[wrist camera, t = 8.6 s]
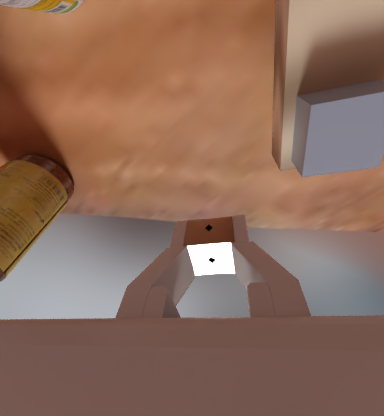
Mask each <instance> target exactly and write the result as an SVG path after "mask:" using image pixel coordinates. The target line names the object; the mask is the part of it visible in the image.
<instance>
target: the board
mask: <svg viewBox="0 0 384 416" xmlns="http://www.w3.org/2000/svg"><path fill="white" fill-rule="evenodd" d="M374 80H381V81H384V0H276V18H275V56H274V94H273V132H272V156H273V158H274V160H275V162H276V163H277V165H278V167H279V169H280V171H282V170H289V169H296V167H295V166H294V164H293V163H292V161H291V157H292V145H293V134H294V122H295V111H296V99H297V96H298V95H303V94H308V93H313V92H319V91H324V90H329V89H334V88H339V87H344V86H349V85H354V84H359V83H364V82H369V81H374ZM383 157H384V155H383Z"/></svg>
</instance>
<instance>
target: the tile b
mask: <svg viewBox="0 0 384 416" xmlns="http://www.w3.org/2000/svg"><path fill="white" fill-rule="evenodd" d="M383 155H384V81H381V80H374V81H369V82H364V83H359V84H354V85H349V86H344V87H339V88H334V89H329V90H324V91H319V92H313V93H308V94H303V95H298V96H297V99H296V111H295V122H294V134H293V145H292V157H291V161H292V163H293V164H294V166H295V167H296V169H297V170H298V172H299V173H300V175H301V176H302V177H308V176H316V175H324V174H331V173H339V172H347V171H354V170H362V169H370V168H378V167H379V166H380V163H381V161H382V158H383Z"/></svg>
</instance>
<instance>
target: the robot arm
mask: <svg viewBox="0 0 384 416" xmlns="http://www.w3.org/2000/svg"><path fill="white" fill-rule="evenodd" d="M226 273H235V275H236V276H237V278H238V279H239V280H240V282H241V283H242V284H243V286H244V287H245V288H246V289H247V291H248V303H249V315H250V317H209V318H208V317H203V318H202V317H201V318H181V317H180V315H179V313H178V311H177V308H176V305H177V304H178V302H179V301H180V299H181V298H182V296H183V295H184V293H185V292H186V290H187V289H188V287H189V286H190V284H191V283H192V281H193V280H194V278H195V277H196V276H195V275H206V274H226ZM0 416H384V315H383V316H311V314H310V311H309V309H308V306H307V303H306V300H305V297H304V295H303V292H302V289H301V286H300V283H299V281H298V279H297V278H295V277H294V276H293V275H292V274H291V273H289V272H288V271H287V270H286V269H285V268H284V267H282V266H281V265H280V264H279V263H278V262H276V261H275V260H274V259H273V258H272V257H271V256H269V255H268V254H267V253H266V252H265V251H264V250H262V249H261V248H260V247H259V246H258V245H257V244H255V243H254V242H253V241H252V242H249V238H248V232H247V226H246V221H245V216H244V215H236V216H230V217H220V218H211V219H197V220H188V221H187V220H186V221H177V222H176V224H175V229H174V233H173V238H172V242H171V246H170V248H166V249H165V250H164V252H162V253H161V254H160V255H159V256H158V257H157V258H156V259H155V260H154V261H153V262H152V263H151V264H150V265H149V266H148V267H147V268H146V269H145V270H144V271H143V272H142V273H141V274H140V275H139V276H138V277H137V278H136V279H135V280H134V281H132V282H131V283H130V284H129V285H128V286H127V289H126V291H125V294H124V297H123V299H122V302H121V305H120V307H119V310H118V313H117V315H116V318H112V319H110V318H109V319H19V320H18V319H14V320H13V319H10V320H0Z"/></svg>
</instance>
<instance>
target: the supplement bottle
mask: <svg viewBox="0 0 384 416" xmlns="http://www.w3.org/2000/svg"><path fill="white" fill-rule="evenodd" d="M82 2H83V0H0V5H4V6H10V7H17V8H22V9H28V10H34V11H40V12H46V13H53V14H65V13H69V12H72V11H74V10H75V9H76V8H78V7H79V6H80V5H81V3H82Z"/></svg>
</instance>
